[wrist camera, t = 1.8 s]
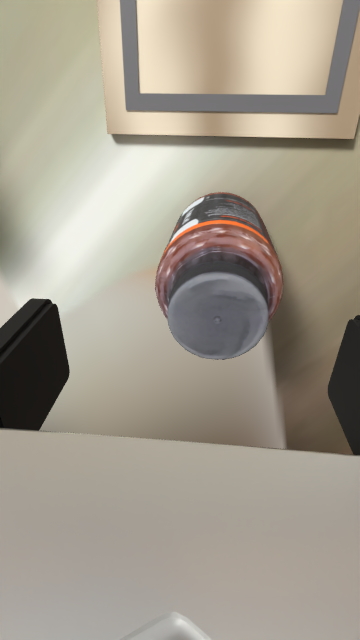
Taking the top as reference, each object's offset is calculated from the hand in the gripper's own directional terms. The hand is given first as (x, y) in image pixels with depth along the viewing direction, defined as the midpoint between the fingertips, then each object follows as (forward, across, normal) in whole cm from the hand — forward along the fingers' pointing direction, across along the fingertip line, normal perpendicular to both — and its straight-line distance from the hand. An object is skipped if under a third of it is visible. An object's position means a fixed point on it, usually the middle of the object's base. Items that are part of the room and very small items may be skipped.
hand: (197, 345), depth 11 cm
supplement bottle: (+14, -1, 0) cm, 14 cm away
